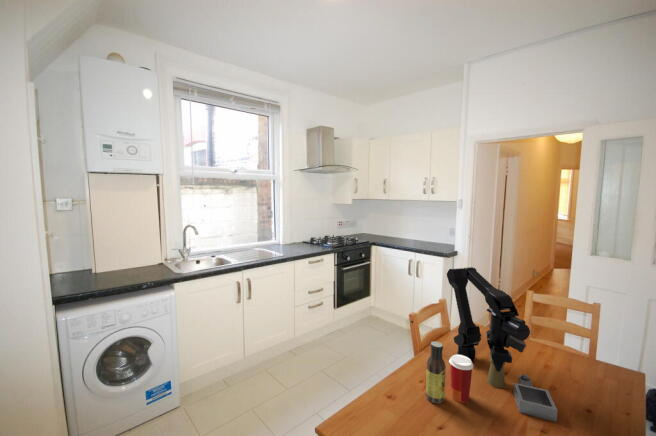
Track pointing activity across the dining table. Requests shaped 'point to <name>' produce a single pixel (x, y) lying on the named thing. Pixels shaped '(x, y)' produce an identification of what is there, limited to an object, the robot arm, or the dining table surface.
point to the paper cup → (460, 377)
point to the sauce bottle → (435, 374)
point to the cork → (496, 376)
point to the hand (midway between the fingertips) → (496, 366)
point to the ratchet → (534, 400)
